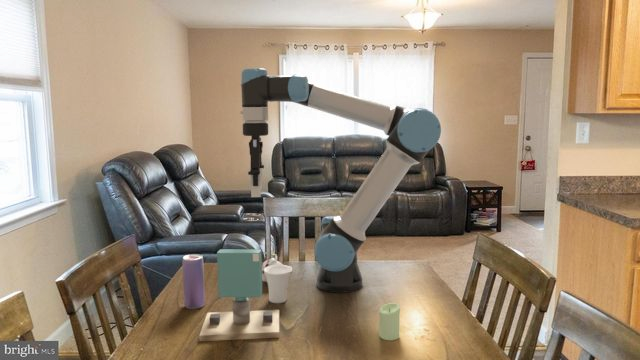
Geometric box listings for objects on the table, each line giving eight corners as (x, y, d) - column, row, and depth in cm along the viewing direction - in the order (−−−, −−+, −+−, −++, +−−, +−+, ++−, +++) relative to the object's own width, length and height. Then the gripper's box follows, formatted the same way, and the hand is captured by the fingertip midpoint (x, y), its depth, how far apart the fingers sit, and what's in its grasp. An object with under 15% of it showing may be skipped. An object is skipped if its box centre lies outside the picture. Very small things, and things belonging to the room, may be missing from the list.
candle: (385, 342, 120) (386, 310, 118) (375, 333, 124) (376, 303, 123) (402, 338, 122) (403, 307, 120) (392, 330, 126) (392, 300, 125)
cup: (278, 308, 141) (278, 275, 139) (258, 300, 147) (257, 268, 146) (300, 299, 147) (299, 268, 146) (279, 291, 154) (278, 261, 152)
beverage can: (199, 310, 140) (197, 260, 138) (180, 308, 141) (178, 259, 139) (208, 302, 145) (206, 254, 143) (190, 301, 147) (188, 253, 145)
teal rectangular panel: (221, 296, 129) (220, 249, 127) (262, 296, 129) (261, 249, 127) (218, 301, 126) (216, 252, 124) (260, 301, 126) (259, 253, 124)
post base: (279, 314, 136) (278, 289, 135) (279, 337, 123) (278, 309, 121) (207, 317, 135) (206, 292, 134) (199, 341, 121) (198, 312, 120)
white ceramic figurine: (268, 248, 169) (272, 255, 155) (288, 258, 171) (293, 267, 156) (255, 272, 169) (257, 282, 154) (274, 282, 170) (279, 293, 155)
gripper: (245, 121, 154) (247, 186, 157) (239, 123, 129) (241, 200, 132) (268, 121, 155) (270, 186, 158) (267, 123, 130) (268, 200, 133)
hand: (257, 193), depth 145 cm, fingers open, 13 cm apart
